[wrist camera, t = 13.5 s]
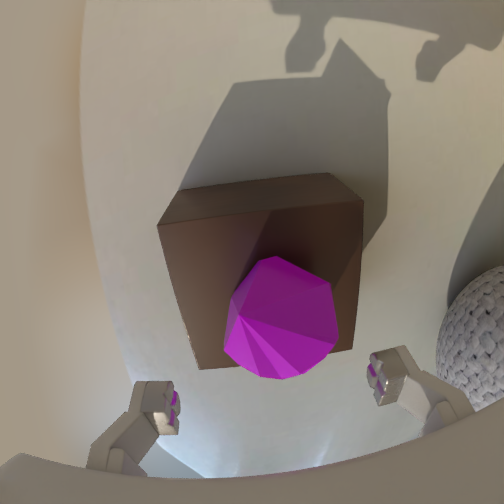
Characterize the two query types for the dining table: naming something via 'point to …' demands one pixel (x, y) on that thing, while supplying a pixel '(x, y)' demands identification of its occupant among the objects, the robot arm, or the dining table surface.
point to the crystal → (280, 320)
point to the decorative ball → (475, 340)
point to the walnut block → (259, 249)
